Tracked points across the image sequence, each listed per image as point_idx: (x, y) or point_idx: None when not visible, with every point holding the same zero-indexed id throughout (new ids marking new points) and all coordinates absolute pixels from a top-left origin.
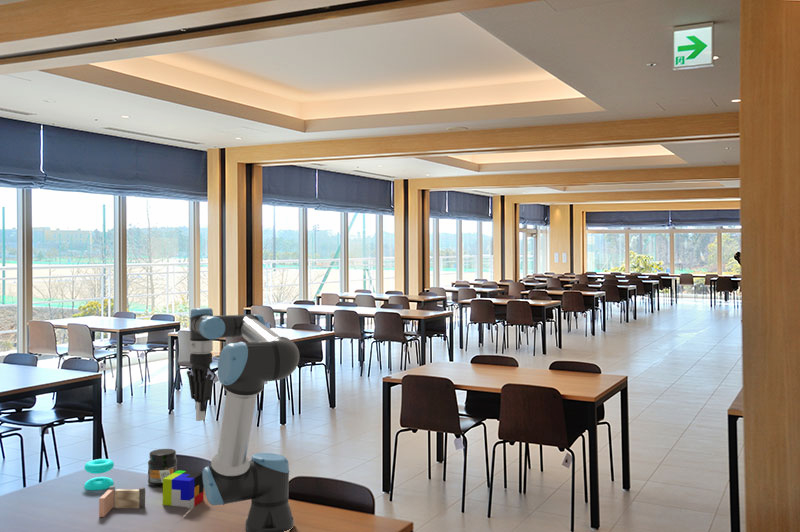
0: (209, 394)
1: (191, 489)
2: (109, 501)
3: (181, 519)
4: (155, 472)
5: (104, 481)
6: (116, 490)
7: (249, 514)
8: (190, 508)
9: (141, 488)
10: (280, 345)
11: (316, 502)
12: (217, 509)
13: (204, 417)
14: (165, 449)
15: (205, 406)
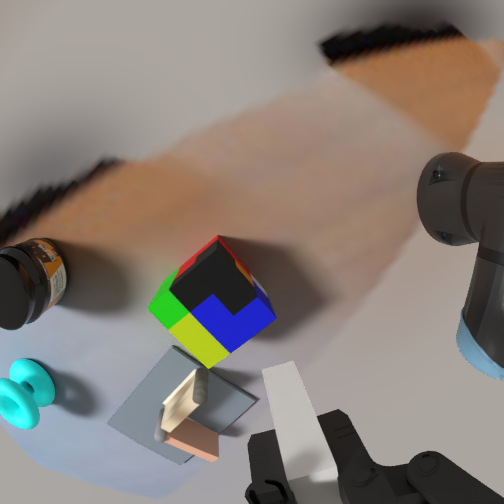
0: (474, 494)
1: (265, 299)
2: (191, 434)
3: (309, 322)
4: (47, 308)
5: (40, 387)
6: (170, 430)
7: (463, 242)
8: (261, 286)
9: (198, 400)
10: None
11: (388, 44)
12: (303, 233)
13: (298, 374)
14: None
15: (356, 435)
